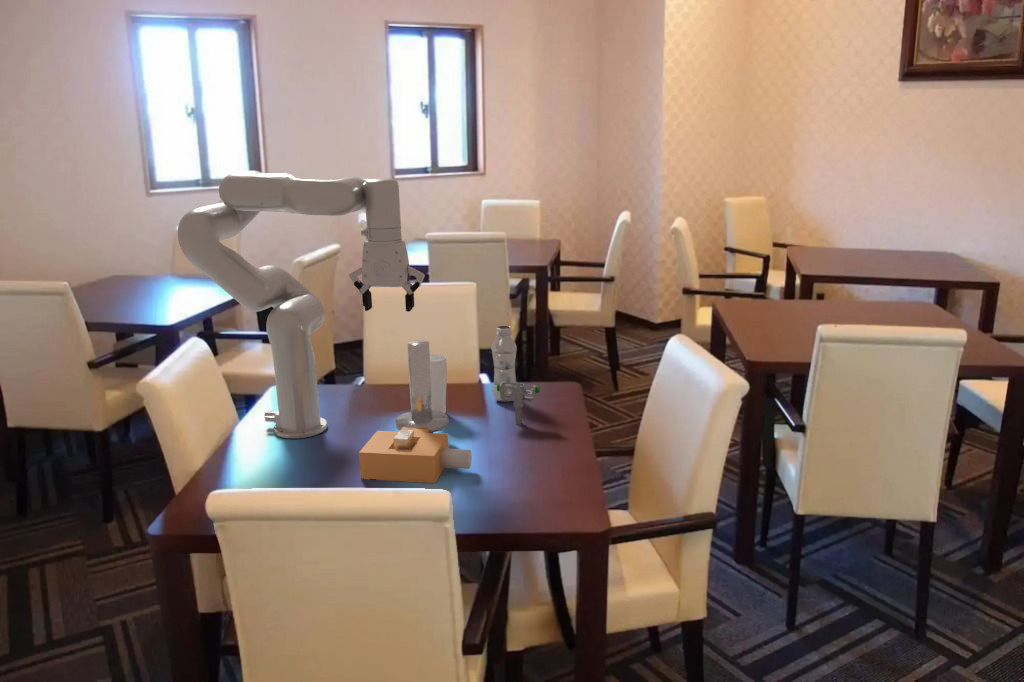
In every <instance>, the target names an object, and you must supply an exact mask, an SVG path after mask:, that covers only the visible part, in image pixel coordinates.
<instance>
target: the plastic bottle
mask: <svg viewBox="0 0 1024 682" xmlns="http://www.w3.org/2000/svg"><path fill="white" fill-rule="evenodd" d="M495 335H496V337H495V339H494V340H493V342H492V343H491V347H490V348H491V354H492V359H493V367H494V368H493V370H494V372H493V373H494V374H493V384H492V385H493V386H492V395H493V397H494V399H495V400H496V401H497V402H503V403H508V402H510V401H504V400H502V399H501V397H500V391H497V385H500V384H501V383H502V382H506V383H517V377H516V356H517V344H516V342H515V340H514V339H513V337H512V336H511V335H512V327H511V326H510V325H499V326H496V334H495ZM507 392H509V393H511V390H509V389H507Z"/></svg>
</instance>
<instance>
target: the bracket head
mask: <svg viewBox="0 0 1024 682" xmlns="http://www.w3.org/2000/svg"><path fill="white" fill-rule="evenodd" d="M417 428H418V427H417ZM401 430H414V440H415V446H414V447H413V449H412V450H402V449H394V440H393V439H394V437H395V436H396V435H397V434H398V432H399V431H395V430H394V431H390V430H377V431H376V432H375V433H374V434H373V436H371V438H370V439H369V440H368V441H367V442H366V443H365V444H364V446H363V447H362V448H361V450H360V451H359V452H358V456H359V470H360V471H359V474H360V479H361V480H370V479H376V480H375V481H388V482H389V481H392V482H407V483H408V482H409V483H411V482H412V483H428V484H436V483H437V481H438V479H439V478H440V476H441V475H442V473H443V471H444V469H445V468H448V469H463V470H465V469H467V470H469V469H471V467H472V456H473V455H472V450H471V449H468V448H466V449H462V448H449V445H450V444H449V433H438V432H437V433H436V432H433V433H429V428H422V427H421V429H420V427H419V429H415V427H414V428H413V427H412V428H411V427H409V428H406V427H403V428H402V429H401ZM363 478H364V479H363Z"/></svg>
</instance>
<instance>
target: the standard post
mask: <svg viewBox="0 0 1024 682" xmlns="http://www.w3.org/2000/svg"><path fill="white" fill-rule="evenodd" d="M430 354H431V353H430V341H428V340H413V341H409V342H408V343H407V359H408V375H409V376H408V377H409V378H408V379H409V380H408V381H409V382H408V383H409V396H410V398H409V399H410V411H408V412H405V413H402V414H399V416H397V418H395V427H396V429H397V430H398V431H400V430H401V429H402V428H403V427H406V428H409V427H411V428H412V427H413V428H414V427H415V429H419V427H420V429H421V427H422V428H429V433H436V432H437V433H438V432H439V431H442V430H444V429H445V428H447V427H448V426H449V422H450V421H449V416H448V415H447V414H446V412H445V413H443V412H439V411H434V410H432V394H431V372H430ZM417 427H418V428H417Z"/></svg>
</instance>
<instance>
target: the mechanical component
mask: <svg viewBox="0 0 1024 682" xmlns="http://www.w3.org/2000/svg"><path fill="white" fill-rule="evenodd" d="M507 389H509V390H511V393H509V392H507ZM540 390H541V388H540V386H539V385H535V384H533V385H532V388H531V389H527V388H526V387H525V384H524V383H522V382H516V383H506V382H502V383H501V384H500V385H497V391H500V397H501V399H502V400H504V401H509V402H513V404H512V406H513V407H514V408H515V424H516V425H517V426H518V425H519V426H520V425H522V423H523V407H524V406H525V405H524V403H532V402H534V401H535V399H536V397H537V395H538V394H539V393H540ZM525 395H526V396H525Z"/></svg>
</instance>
